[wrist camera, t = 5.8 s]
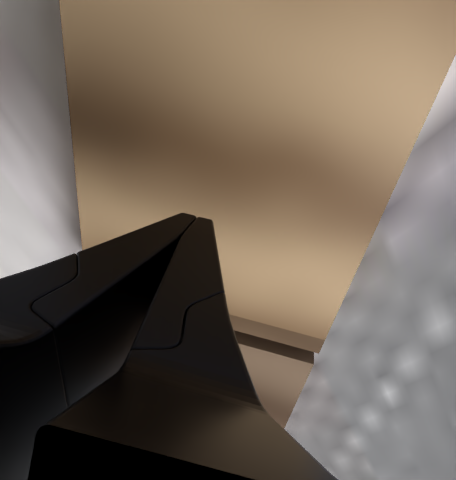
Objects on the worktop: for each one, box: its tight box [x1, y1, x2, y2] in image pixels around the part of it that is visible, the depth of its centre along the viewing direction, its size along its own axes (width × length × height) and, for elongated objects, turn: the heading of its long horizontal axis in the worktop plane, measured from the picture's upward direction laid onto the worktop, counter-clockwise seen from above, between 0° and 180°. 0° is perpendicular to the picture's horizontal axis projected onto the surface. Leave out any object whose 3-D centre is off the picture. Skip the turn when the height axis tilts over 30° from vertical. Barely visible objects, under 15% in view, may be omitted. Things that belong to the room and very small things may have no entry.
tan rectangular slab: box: [59, 0, 456, 353], centre depth 12 cm, size 12×10×2 cm
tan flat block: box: [234, 330, 314, 429], centre depth 18 cm, size 9×10×2 cm
